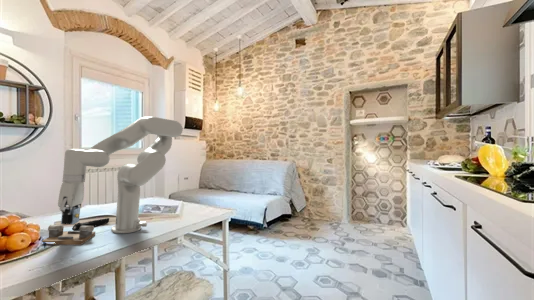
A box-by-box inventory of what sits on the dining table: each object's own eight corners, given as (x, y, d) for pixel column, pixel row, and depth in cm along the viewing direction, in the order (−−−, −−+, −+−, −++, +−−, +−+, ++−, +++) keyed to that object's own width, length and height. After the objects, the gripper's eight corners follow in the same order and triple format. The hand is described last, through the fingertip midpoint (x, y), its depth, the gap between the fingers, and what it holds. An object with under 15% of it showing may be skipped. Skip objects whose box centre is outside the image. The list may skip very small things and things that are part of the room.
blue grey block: (59, 223, 103) (60, 209, 103) (65, 220, 108) (67, 206, 108) (74, 224, 104) (75, 209, 104) (80, 221, 109) (81, 207, 109)
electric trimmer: (110, 224, 129) (111, 218, 129) (75, 231, 116) (75, 224, 116) (106, 223, 131) (107, 217, 131) (71, 229, 118) (72, 222, 118)
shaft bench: (97, 235, 113) (98, 222, 113) (84, 244, 102) (85, 230, 102) (57, 234, 110) (58, 221, 110) (39, 244, 99) (40, 229, 99)
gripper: (75, 175, 114) (72, 216, 114) (50, 180, 97) (46, 228, 97) (94, 176, 115) (90, 217, 115) (72, 181, 98) (68, 228, 98)
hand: (70, 221), depth 106 cm, fingers closed on blue grey block, 4 cm apart
